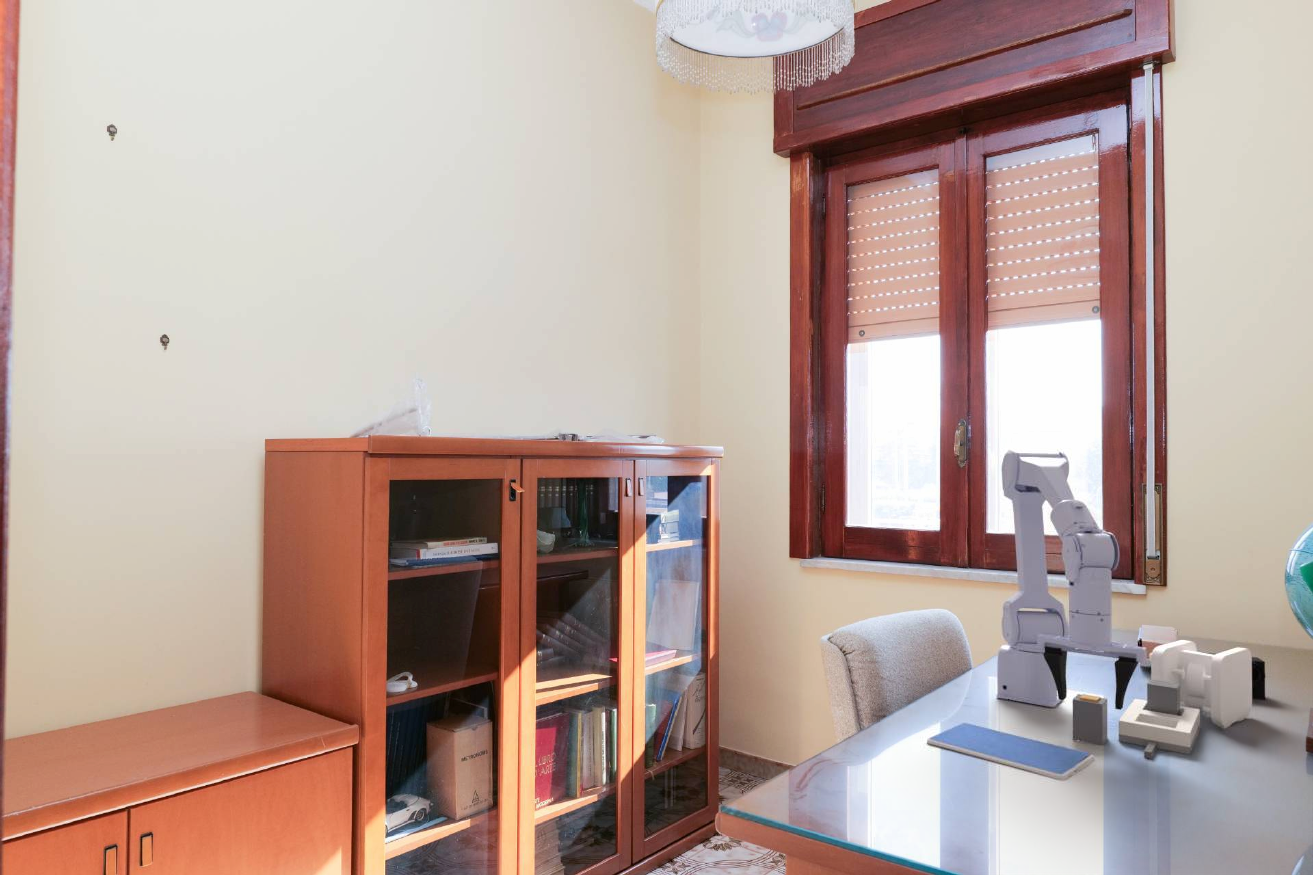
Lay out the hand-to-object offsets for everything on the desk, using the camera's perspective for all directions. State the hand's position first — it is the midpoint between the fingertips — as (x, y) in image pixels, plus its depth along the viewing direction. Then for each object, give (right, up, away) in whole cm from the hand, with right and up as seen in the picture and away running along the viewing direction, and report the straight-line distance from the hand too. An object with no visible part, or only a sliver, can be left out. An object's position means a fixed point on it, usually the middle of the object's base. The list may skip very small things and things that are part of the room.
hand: (1090, 703), depth 124 cm
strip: (+11, -6, +1) cm, 12 cm away
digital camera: (+40, -8, +28) cm, 50 cm away
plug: (0, -5, 0) cm, 5 cm away
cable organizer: (+25, -7, +13) cm, 29 cm away
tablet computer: (-15, -6, -6) cm, 17 cm away
